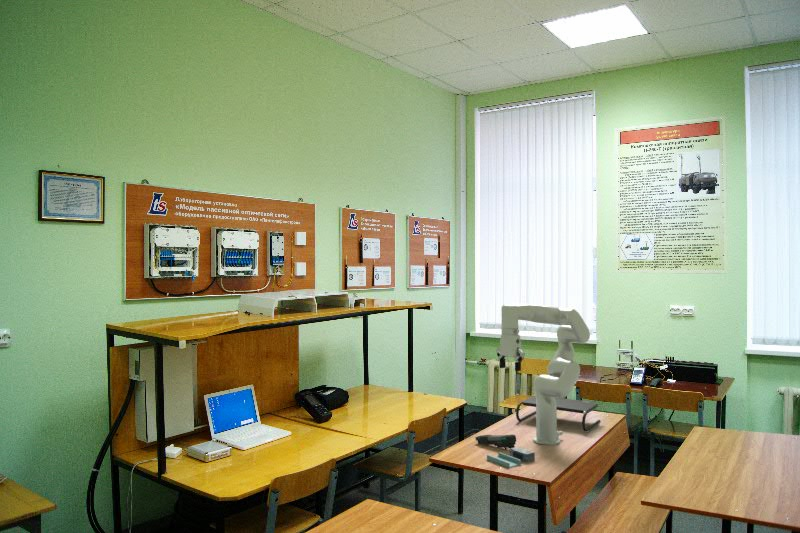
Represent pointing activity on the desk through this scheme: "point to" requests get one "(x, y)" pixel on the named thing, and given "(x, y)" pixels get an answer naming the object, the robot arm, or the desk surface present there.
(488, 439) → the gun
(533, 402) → the monitor stand
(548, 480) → the desk surface
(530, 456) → the block
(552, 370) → the robot arm
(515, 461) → the cradle tray
